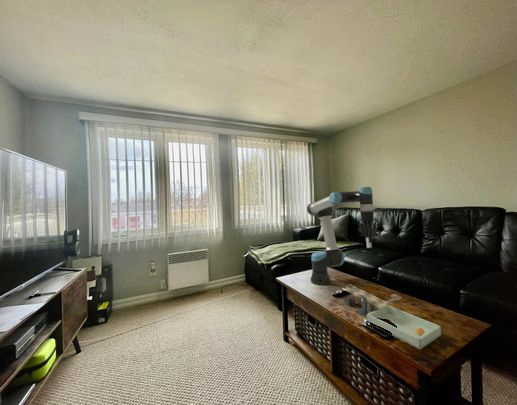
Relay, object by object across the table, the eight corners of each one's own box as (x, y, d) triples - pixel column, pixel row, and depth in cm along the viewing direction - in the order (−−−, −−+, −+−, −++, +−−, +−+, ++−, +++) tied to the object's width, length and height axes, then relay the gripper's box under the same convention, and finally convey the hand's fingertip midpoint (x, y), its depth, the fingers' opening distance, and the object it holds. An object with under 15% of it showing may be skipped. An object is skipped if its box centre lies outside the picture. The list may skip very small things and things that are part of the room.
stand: (343, 305, 125) (342, 290, 125) (354, 301, 129) (353, 286, 129) (370, 319, 109) (369, 301, 109) (382, 313, 113) (381, 296, 114)
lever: (345, 291, 126) (345, 285, 126) (364, 284, 134) (364, 279, 134) (382, 310, 106) (382, 304, 106) (402, 301, 114) (402, 295, 114)
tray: (366, 322, 107) (366, 314, 107) (387, 312, 115) (387, 304, 115) (420, 349, 85) (419, 339, 85) (441, 335, 93) (440, 326, 93)
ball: (424, 336, 90) (417, 337, 92) (428, 333, 92) (421, 335, 94) (418, 328, 92) (412, 329, 94) (422, 325, 93) (416, 327, 96)
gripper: (354, 211, 137) (356, 246, 137) (372, 211, 126) (375, 250, 125) (361, 210, 141) (363, 245, 140) (380, 210, 129) (382, 248, 129)
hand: (369, 247), depth 133 cm, fingers closed
